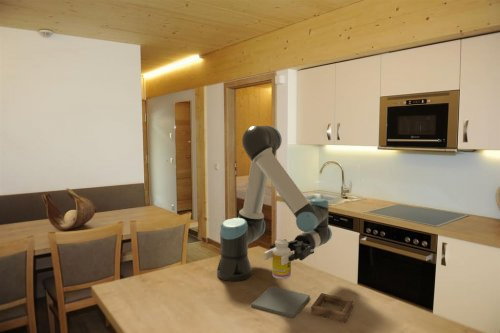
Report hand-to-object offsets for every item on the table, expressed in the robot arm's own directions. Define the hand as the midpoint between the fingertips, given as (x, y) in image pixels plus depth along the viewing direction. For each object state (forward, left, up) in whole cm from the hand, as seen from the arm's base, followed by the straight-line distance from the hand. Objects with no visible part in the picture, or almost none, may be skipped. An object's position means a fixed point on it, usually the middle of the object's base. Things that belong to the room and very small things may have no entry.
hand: (273, 258), depth 122 cm
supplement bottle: (+1, +5, -8) cm, 10 cm away
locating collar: (+19, +8, -18) cm, 27 cm away
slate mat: (+1, +5, -18) cm, 18 cm away
